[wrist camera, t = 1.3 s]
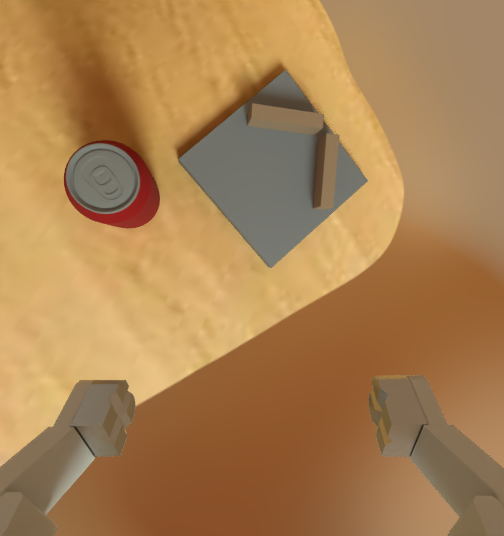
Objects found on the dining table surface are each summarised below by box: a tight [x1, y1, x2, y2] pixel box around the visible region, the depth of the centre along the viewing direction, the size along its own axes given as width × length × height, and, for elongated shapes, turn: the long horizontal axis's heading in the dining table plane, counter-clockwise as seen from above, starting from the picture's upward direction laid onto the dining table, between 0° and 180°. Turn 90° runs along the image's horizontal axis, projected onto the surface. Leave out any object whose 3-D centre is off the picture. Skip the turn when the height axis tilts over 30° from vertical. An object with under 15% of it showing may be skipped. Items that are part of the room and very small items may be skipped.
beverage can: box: [64, 140, 160, 228], centre depth 32 cm, size 7×7×12 cm
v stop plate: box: [179, 70, 368, 268], centre depth 39 cm, size 16×16×4 cm
